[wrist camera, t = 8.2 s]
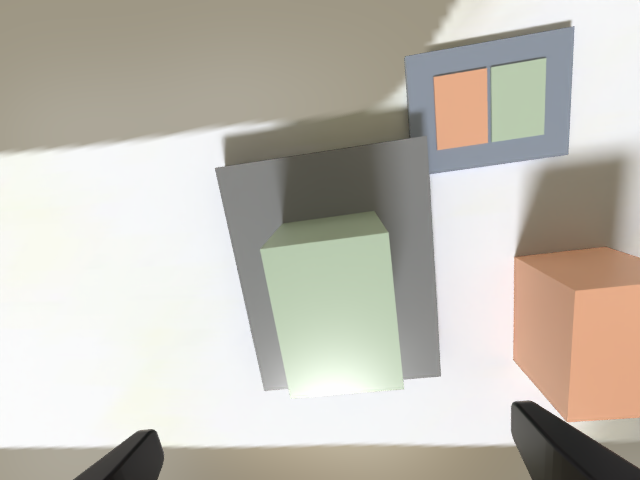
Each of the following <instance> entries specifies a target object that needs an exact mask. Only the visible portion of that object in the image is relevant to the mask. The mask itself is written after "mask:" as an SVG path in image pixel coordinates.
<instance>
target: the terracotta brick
mask: <svg viewBox="0 0 640 480" xmlns="http://www.w3.org/2000/svg"><path fill="white" fill-rule="evenodd" d="M513 360H514V361H515V363H516V364H517V365H518V366H519V367H520V368H521V370H522V371H523V372H524V373H525V374H526V375H527V376H528V378H529V379H530V380H531V381H532V382H533V383H534V385H535V386H536V387H537V388H538V389H539V390H540V391H541V393H542V394H543V395H544V396H545V397H546V398H547V400H548V401H549V402H550V403H551V404H552V405H553V406H554V408H555V409H556V410H557V411H558V412H559V413H560V415H561V416H562V417H563V418H564V419H565V420H566V421H567V422H578V421H593V420H608V419H624V418H639V417H640V258H639V257H636V256H632V255H629V254H626V253H623V252H620V251H617V250H614V249H611V248H608V247H598V248H589V249H581V250H572V251H563V252H554V253H545V254H536V255H527V256H518V257H514V340H513Z"/></svg>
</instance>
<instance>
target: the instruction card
mask: <svg viewBox="0 0 640 480" xmlns="http://www.w3.org/2000/svg"><path fill="white" fill-rule="evenodd" d="M573 46H574V26H573V27H568V28H562V29H556V30H551V31H545V32H539V33H534V34H528V35H522V36H517V37H511V38H506V39H500V40H494V41H489V42H483V43H477V44H472V45H466V46H460V47H455V48H449V49H443V50H438V51H432V52H426V53H421V54H415V55H410V56H405V58H404V61H405V75H406V89H407V103H408V117H409V131H410V138H415V137H421V136H427V145H428V163H429V174H434V173H441V172H448V171H455V170H463V169H470V168H477V167H484V166H491V165H498V164H505V163H512V162H519V161H526V160H533V159H540V158H547V157H555V156H562V155H568V149H569V129H570V108H571V87H572V66H573Z"/></svg>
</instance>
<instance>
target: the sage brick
mask: <svg viewBox="0 0 640 480" xmlns="http://www.w3.org/2000/svg"><path fill="white" fill-rule="evenodd" d="M260 252H261V257H262V262H263V267H264V272H265V277H266V281H267V286H268V291H269V296H270V301H271V306H272V311H273V316H274V320H275V325H276V330H277V335H278V340H279V345H280V350H281V355H282V359H283V364H284V369H285V374H286V379H287V384H288V389H289V394H290V399H292V398H304V397H316V396H328V395H340V394H352V393H365V392H377V391H389V390H401V389H404V384H403V374H402V364H401V354H400V343H399V333H398V323H397V313H396V303H395V293H394V283H393V272H392V262H391V252H390V242H389V232H388V231H387V229H386V228H385V226H384V225H383V223H382V222H381V220H380V219H379V217H378V216H377V214H376V213H375V211H370V212H363V213H355V214H348V215H341V216H334V217H326V218H319V219H312V220H304V221H297V222H290V223H283V224H282V225H281V226H280V227H279V228H278V229H277V230H276V231H275V233H274V234H273V235H272V236H271V237H270V238H269V239H268V241H267V242H266V243H265V244H264V245H263V246H262V248H261V249H260Z"/></svg>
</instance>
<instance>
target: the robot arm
mask: <svg viewBox="0 0 640 480" xmlns="http://www.w3.org/2000/svg"><path fill="white" fill-rule="evenodd" d="M511 432H512V436H513V439H514V442H515V444H516V446H517V448H518V450H519V452H520V455H521V457H522V459H523V461H524V463H525V465H526V467H527V469H528V471H529V474H530V476H531V478H532V480H640V469H639V468H638V467H636V466H635V465H633V464H632V463H630V462H628V461H627V460H625V459H624V458H622V457H620V456H619V455H617V454H616V453H614V452H612V451H611V450H609V449H608V448H606V447H604V446H603V445H601V444H600V443H598V442H597V441H595V440H593V439H592V438H590V437H589V436H587V435H585V434H584V433H582V432H581V431H579V430H577V429H576V428H574V427H573V426H571V425H569V424H568V423H566V422H565V421H563V420H562V419H560V418H558V417H557V416H555V415H554V414H552V413H550V412H549V411H547V410H546V409H544V408H542V407H541V406H539V405H538V404H536V403H534V402H532V401H515V402H513V403H512V406H511ZM163 461H164V452H163V449H162V446H161V443H160V440H159V437H158V434H157V432H156V431H155V430H153V429H148V430H140V431H137V432H136V433H134V434H133V435H132V436H130V437H129V438H128V439H126V440H125V441H124V442H122V443H121V444H120V445H118V446H117V447H116V448H114V449H113V450H112V451H111V452H109V453H108V454H106V455H105V456H104V457H103V458H101V459H100V460H99V461H97V462H96V463H95V464H93V465H92V466H91V467H90V468H88V469H87V470H85V471H84V472H83V473H81V474H80V475H79V476H77V477H76V478H75V479H73V480H157V479H158V476H159V473H160V471H161V468H162V465H163Z"/></svg>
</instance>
